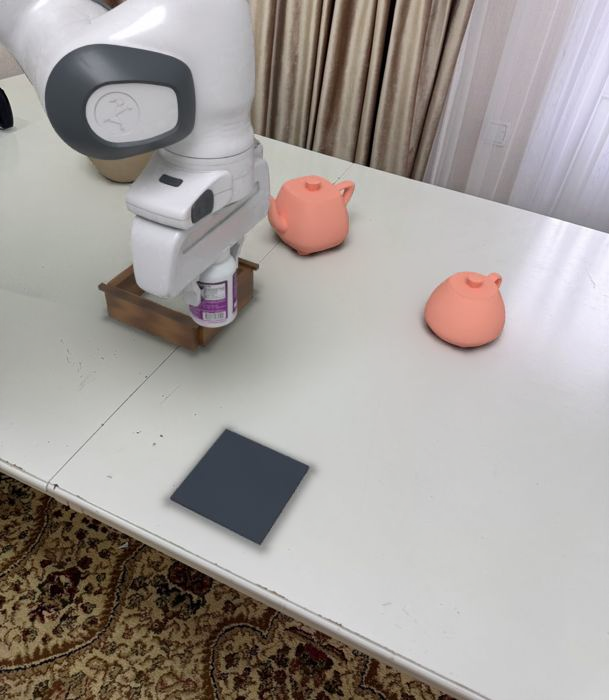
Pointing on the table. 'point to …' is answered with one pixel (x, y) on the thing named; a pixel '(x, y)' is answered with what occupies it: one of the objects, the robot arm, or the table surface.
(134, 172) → the vase
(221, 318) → the pill bottle
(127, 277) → the wooden square frame
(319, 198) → the teapot
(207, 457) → the coaster
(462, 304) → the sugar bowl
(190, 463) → the table surface
